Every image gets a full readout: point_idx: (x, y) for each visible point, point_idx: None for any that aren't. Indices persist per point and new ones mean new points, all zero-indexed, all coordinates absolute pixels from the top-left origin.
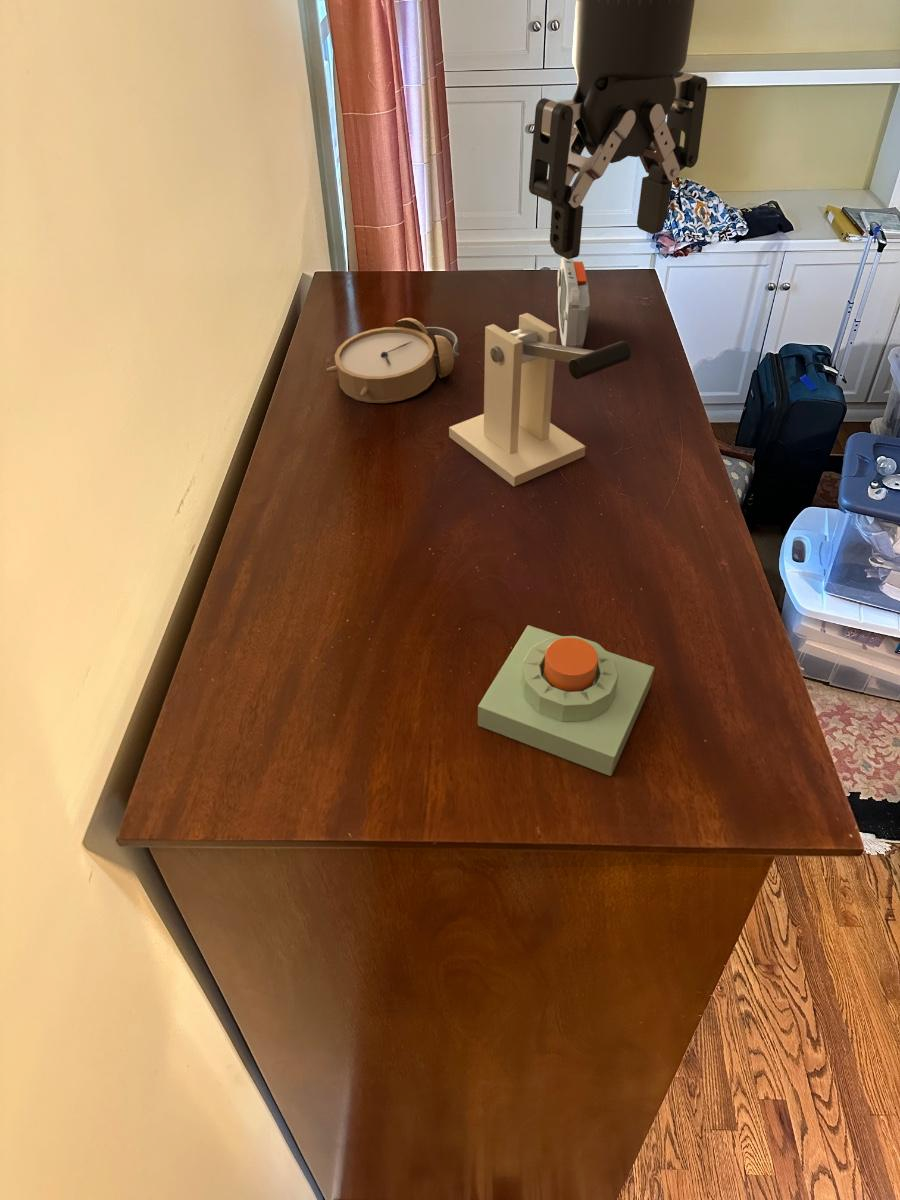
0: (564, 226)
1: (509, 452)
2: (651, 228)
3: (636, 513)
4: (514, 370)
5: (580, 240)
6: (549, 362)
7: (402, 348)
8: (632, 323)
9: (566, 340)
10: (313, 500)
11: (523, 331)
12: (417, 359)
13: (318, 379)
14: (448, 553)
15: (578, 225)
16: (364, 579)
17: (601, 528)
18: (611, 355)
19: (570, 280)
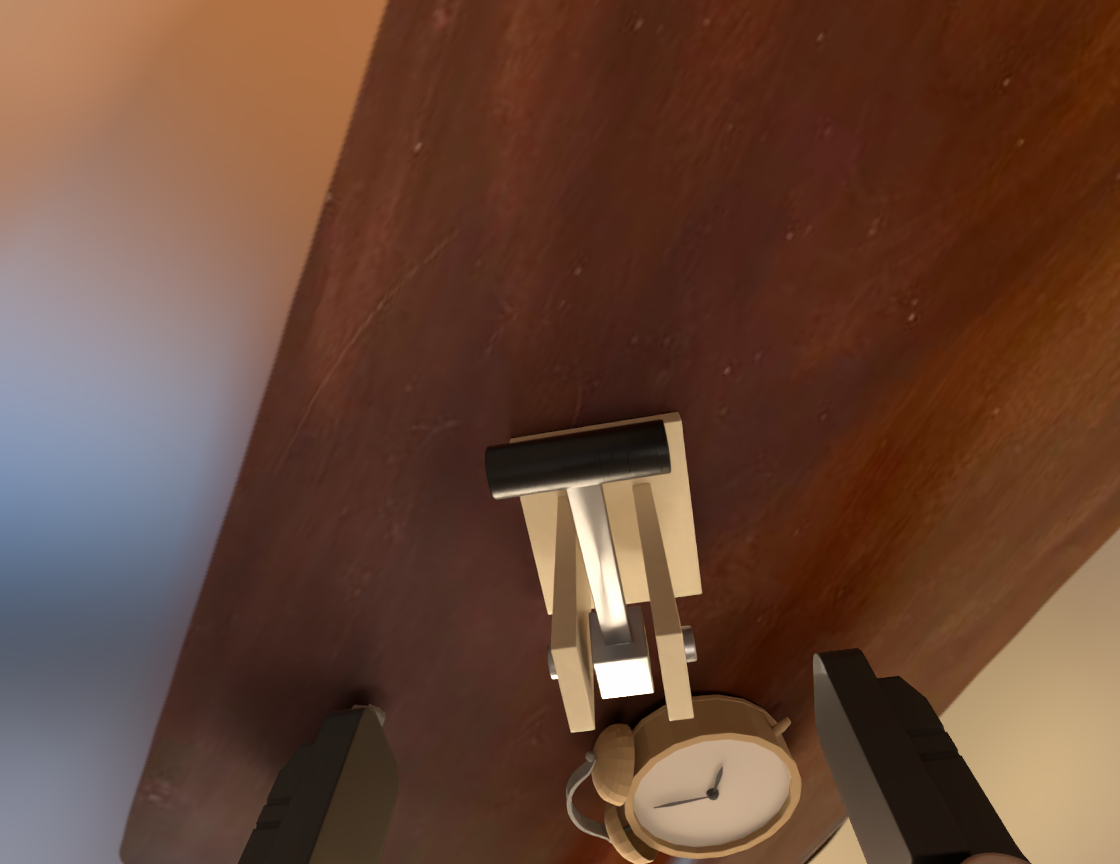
0: (966, 778)
1: (650, 485)
2: (371, 734)
3: (514, 243)
4: (669, 589)
5: (843, 700)
6: (568, 595)
7: (675, 798)
8: (215, 744)
9: (382, 724)
10: (996, 518)
11: (609, 681)
12: (670, 763)
13: None
14: (891, 291)
15: (891, 764)
16: (1057, 290)
17: (601, 232)
18: (555, 449)
19: None
